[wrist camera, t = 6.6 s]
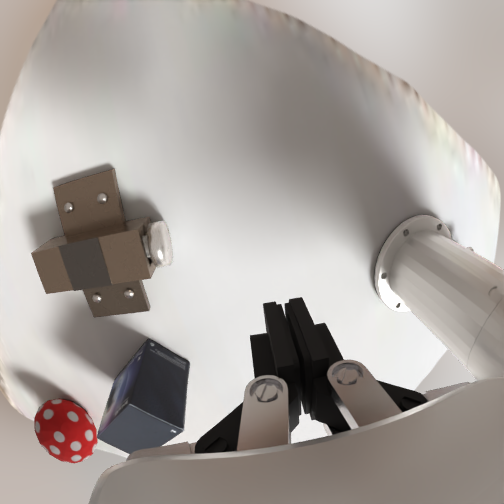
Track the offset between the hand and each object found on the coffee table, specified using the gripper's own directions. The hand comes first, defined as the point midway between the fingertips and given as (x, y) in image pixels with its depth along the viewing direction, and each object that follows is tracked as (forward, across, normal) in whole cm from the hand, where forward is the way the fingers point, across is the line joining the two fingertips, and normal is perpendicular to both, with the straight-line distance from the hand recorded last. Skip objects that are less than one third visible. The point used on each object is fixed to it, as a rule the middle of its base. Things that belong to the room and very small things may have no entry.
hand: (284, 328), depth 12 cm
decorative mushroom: (+15, +36, +26) cm, 47 cm away
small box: (+16, +16, +16) cm, 28 cm away
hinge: (+15, +16, -1) cm, 22 cm away
